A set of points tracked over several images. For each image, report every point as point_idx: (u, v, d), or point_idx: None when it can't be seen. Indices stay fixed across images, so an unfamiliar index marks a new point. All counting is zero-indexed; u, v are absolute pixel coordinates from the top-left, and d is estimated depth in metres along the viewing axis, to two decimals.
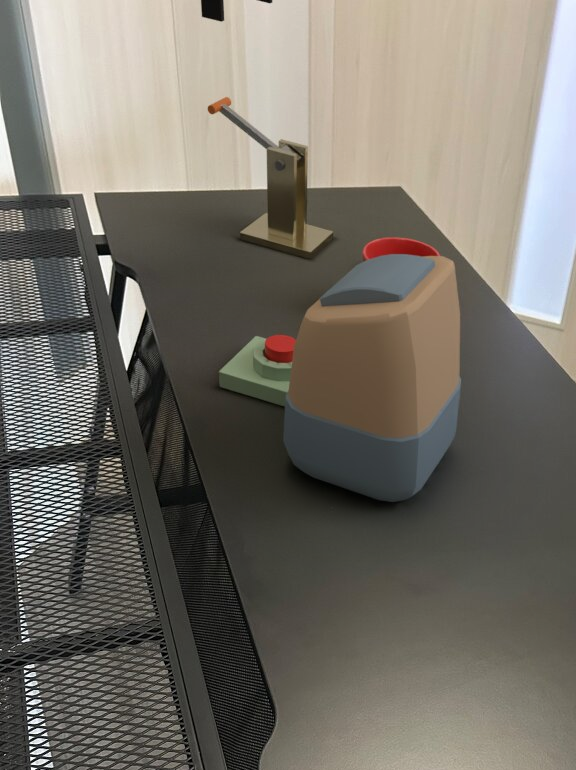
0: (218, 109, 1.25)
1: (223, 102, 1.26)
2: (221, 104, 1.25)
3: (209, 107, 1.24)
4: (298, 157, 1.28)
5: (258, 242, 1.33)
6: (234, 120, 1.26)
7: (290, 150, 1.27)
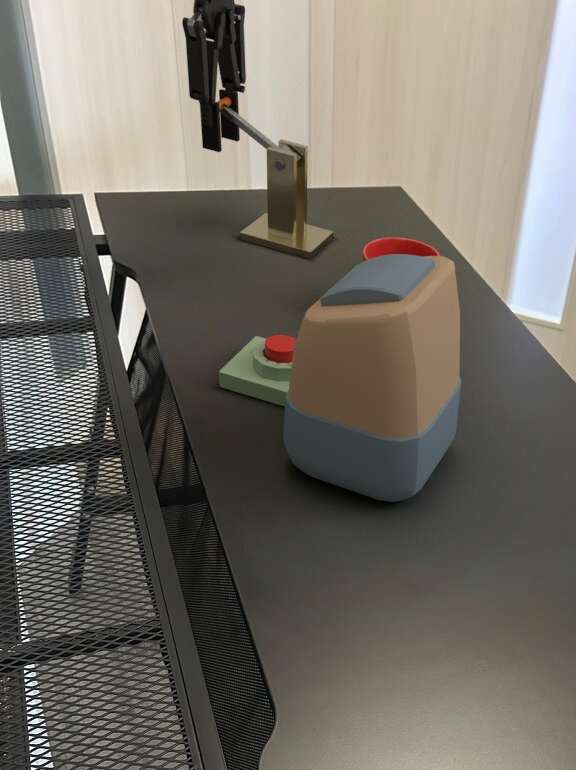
0: None
1: (223, 102, 1.26)
2: (221, 104, 1.25)
3: None
4: (298, 157, 1.28)
5: (258, 242, 1.33)
6: (234, 120, 1.26)
7: (290, 150, 1.27)
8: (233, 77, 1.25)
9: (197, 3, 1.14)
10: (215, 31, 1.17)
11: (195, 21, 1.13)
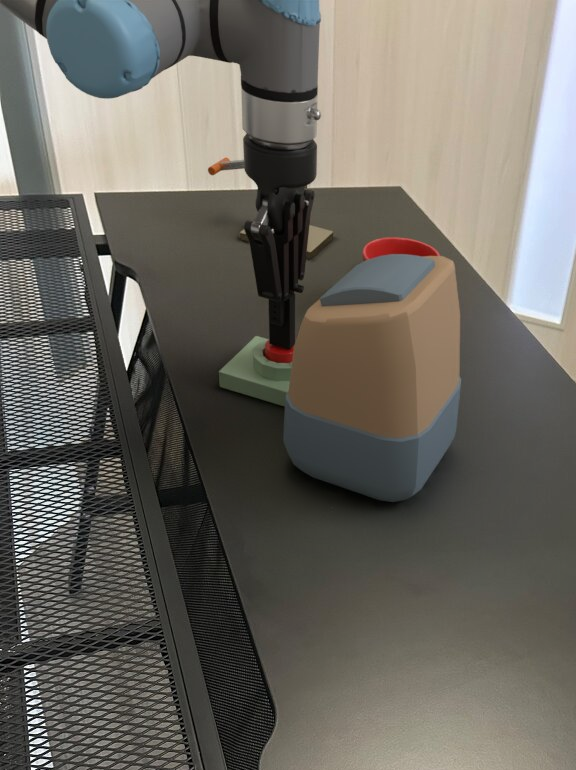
0: (217, 167, 1.31)
1: (220, 161, 1.32)
2: (219, 163, 1.31)
3: (209, 170, 1.30)
4: None
5: None
6: (233, 166, 1.31)
7: None
8: (291, 274, 0.98)
9: (261, 195, 0.88)
10: (283, 225, 0.92)
11: (260, 227, 0.88)
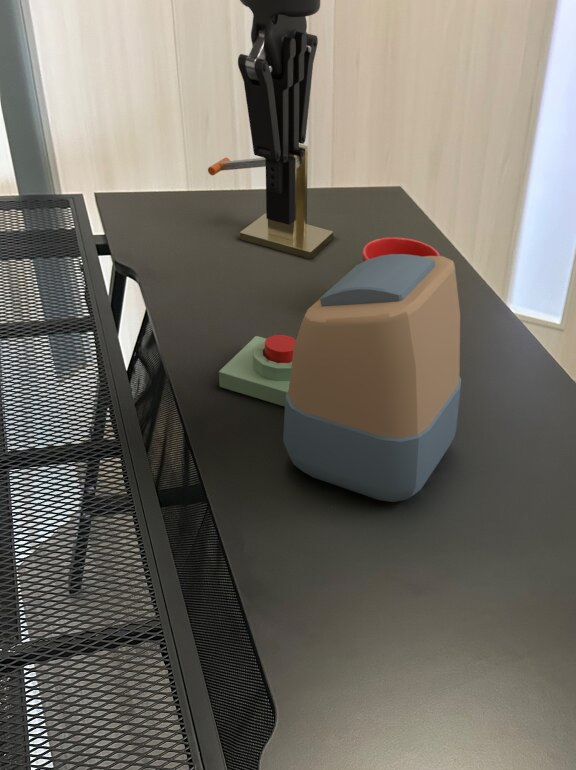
0: (217, 167, 1.31)
1: (220, 161, 1.32)
2: (219, 163, 1.31)
3: (209, 170, 1.30)
4: None
5: (258, 242, 1.33)
6: (233, 166, 1.31)
7: None
8: (291, 133, 0.88)
9: (258, 24, 0.78)
10: (283, 66, 0.81)
11: (256, 61, 0.78)
